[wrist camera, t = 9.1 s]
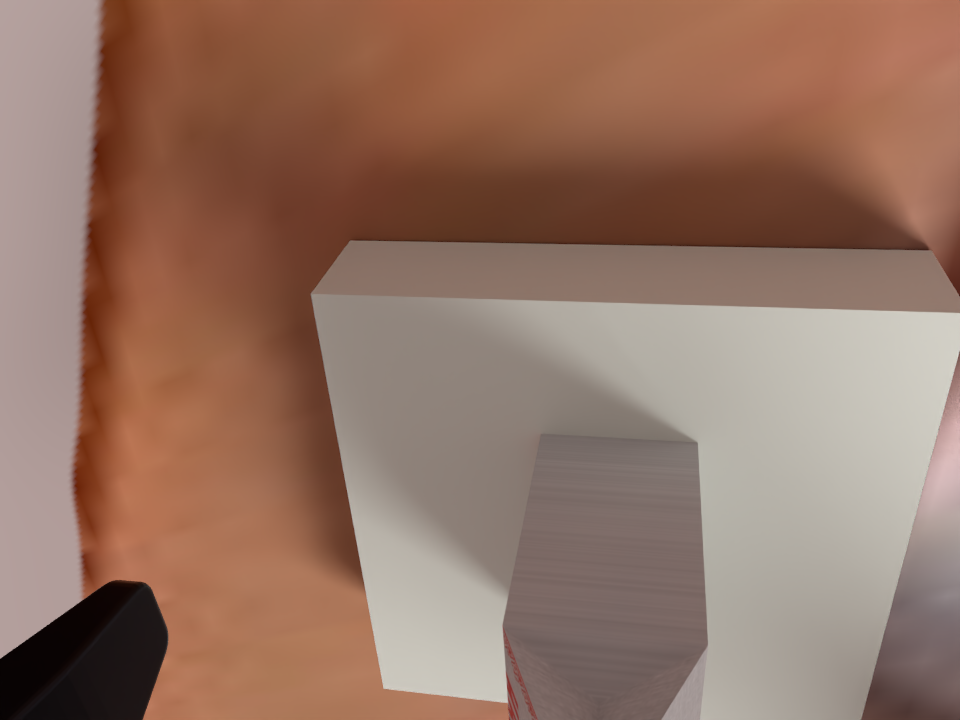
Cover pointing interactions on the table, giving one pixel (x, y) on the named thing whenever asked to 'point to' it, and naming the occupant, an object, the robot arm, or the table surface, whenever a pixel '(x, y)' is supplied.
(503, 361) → the plinth
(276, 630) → the table surface
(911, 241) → the table surface
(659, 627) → the white paper carton
